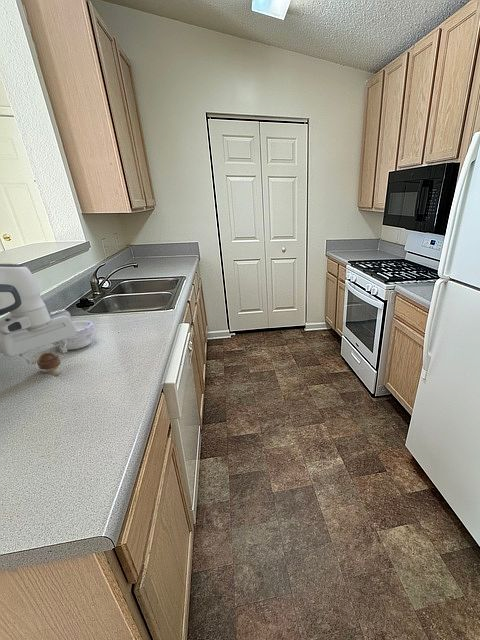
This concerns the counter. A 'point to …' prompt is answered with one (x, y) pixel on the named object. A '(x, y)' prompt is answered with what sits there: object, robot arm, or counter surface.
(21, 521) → the counter surface
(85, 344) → the paper bowls
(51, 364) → the mushroom
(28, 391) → the counter surface
